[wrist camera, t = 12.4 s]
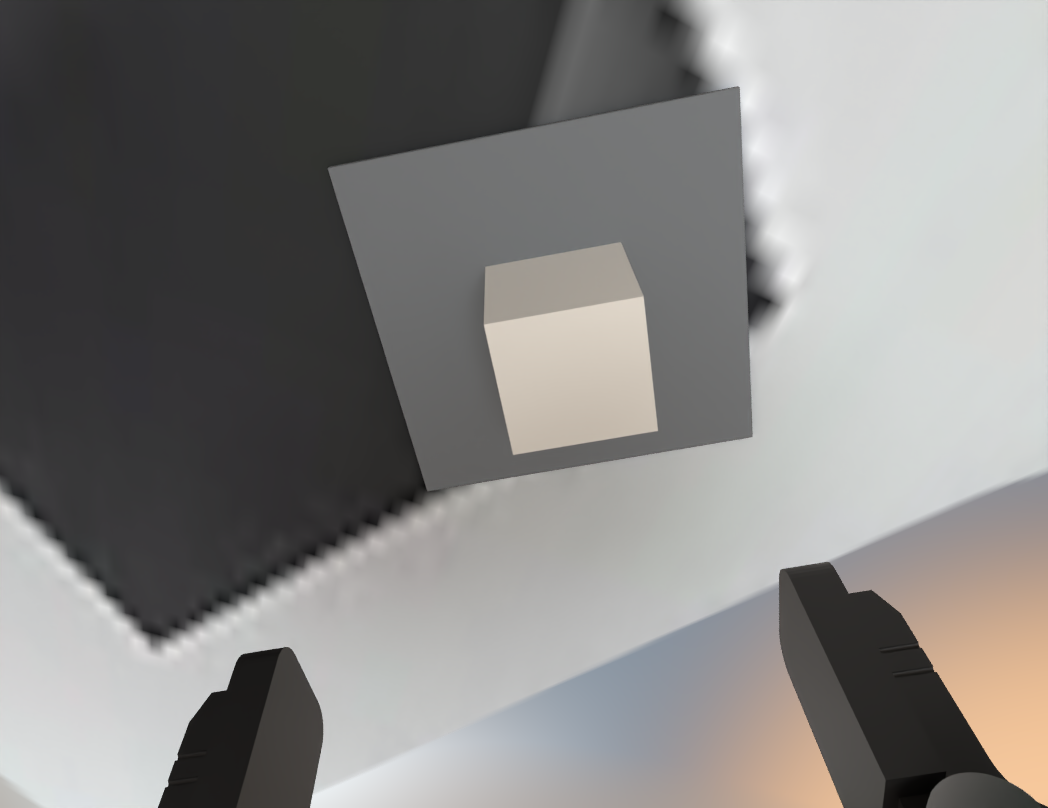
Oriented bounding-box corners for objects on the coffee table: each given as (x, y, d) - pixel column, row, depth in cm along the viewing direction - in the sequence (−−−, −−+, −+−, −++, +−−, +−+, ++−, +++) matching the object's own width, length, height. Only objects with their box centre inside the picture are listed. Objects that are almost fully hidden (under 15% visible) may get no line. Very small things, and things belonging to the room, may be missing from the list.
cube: (510, 383, 31) (513, 454, 27) (485, 266, 28) (483, 324, 24) (635, 362, 31) (657, 430, 26) (620, 242, 28) (643, 296, 24)
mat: (427, 488, 34) (427, 491, 34) (328, 166, 27) (327, 168, 26) (751, 434, 33) (752, 437, 33) (737, 86, 26) (739, 87, 26)
